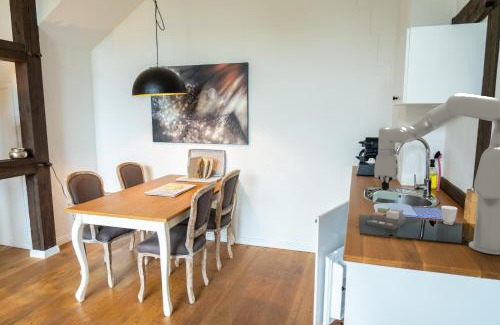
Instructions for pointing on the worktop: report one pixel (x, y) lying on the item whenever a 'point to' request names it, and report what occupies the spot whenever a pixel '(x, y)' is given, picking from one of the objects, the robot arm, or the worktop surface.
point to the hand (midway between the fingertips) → (385, 190)
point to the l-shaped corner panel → (384, 195)
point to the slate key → (398, 211)
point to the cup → (448, 214)
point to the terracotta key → (379, 214)
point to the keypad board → (386, 222)
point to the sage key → (383, 209)
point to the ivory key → (392, 214)
